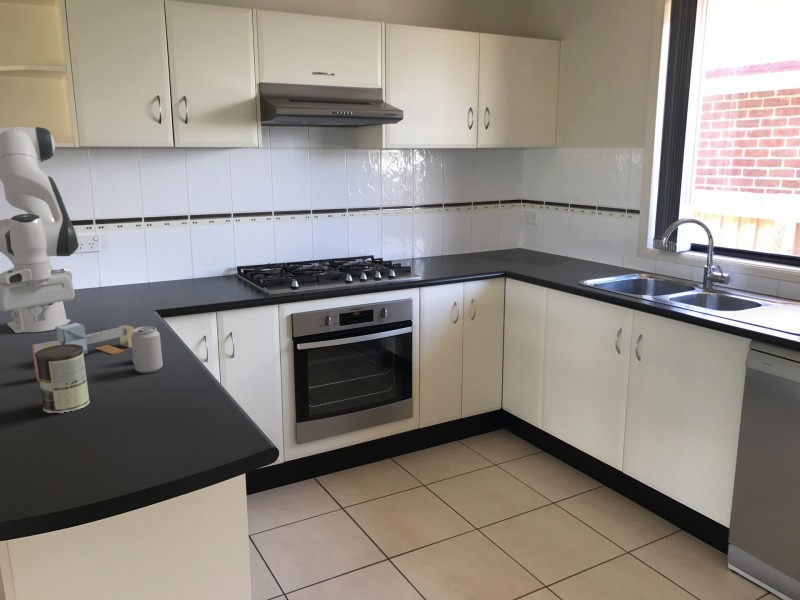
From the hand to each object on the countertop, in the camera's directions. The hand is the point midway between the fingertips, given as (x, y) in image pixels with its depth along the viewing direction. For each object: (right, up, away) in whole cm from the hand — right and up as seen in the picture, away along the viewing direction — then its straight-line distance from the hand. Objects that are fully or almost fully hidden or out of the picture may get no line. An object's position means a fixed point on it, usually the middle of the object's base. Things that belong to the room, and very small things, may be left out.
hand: (40, 320), depth 189 cm
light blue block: (+5, -10, +9) cm, 14 cm away
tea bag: (+7, -16, -7) cm, 19 cm away
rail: (+9, -11, +14) cm, 20 cm away
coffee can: (+22, -20, -28) cm, 41 cm away
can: (+32, -14, -2) cm, 35 cm away
